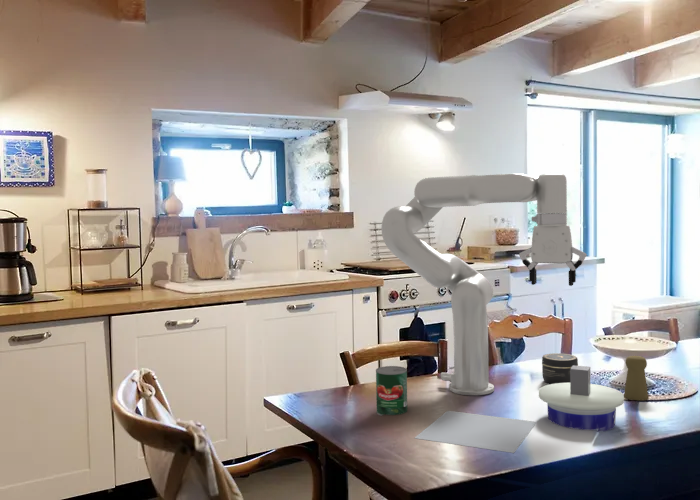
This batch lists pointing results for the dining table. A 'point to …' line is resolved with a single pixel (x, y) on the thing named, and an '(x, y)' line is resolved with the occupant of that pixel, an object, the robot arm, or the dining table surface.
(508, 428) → the mat
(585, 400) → the lid
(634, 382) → the olive pawn
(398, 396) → the canned tomato
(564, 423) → the dog bowl
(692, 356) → the dining table surface
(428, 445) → the dining table surface
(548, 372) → the jar
